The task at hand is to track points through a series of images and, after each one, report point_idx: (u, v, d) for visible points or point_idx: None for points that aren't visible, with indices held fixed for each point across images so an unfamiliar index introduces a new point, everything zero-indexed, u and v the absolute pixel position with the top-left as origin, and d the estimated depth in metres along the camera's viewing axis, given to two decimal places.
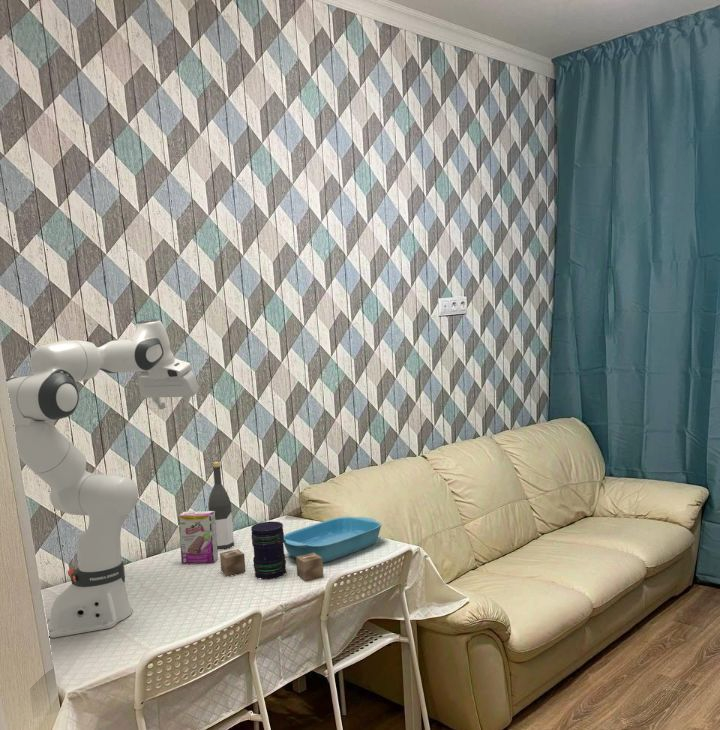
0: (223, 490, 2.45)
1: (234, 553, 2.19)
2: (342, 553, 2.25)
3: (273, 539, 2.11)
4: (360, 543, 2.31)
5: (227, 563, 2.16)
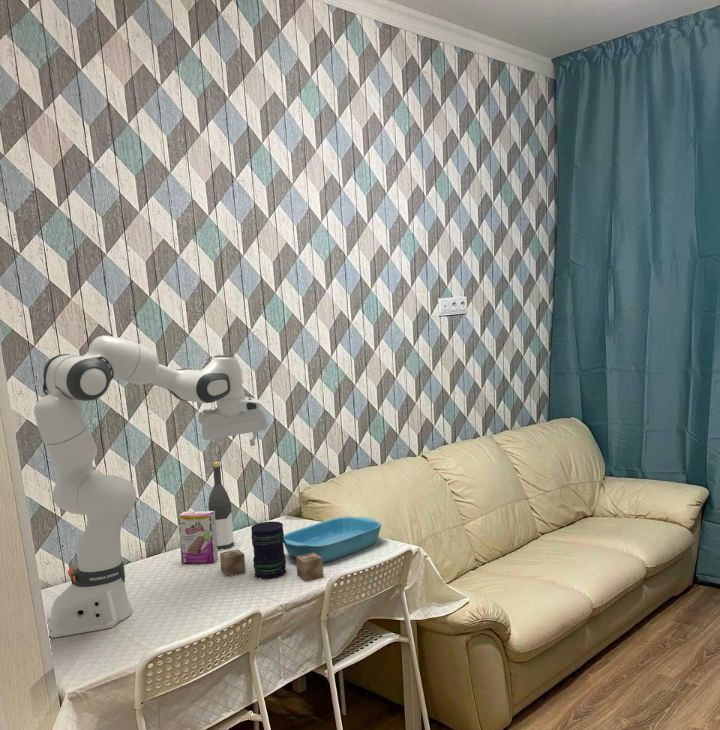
0: (223, 490, 2.45)
1: (234, 553, 2.19)
2: (342, 554, 2.25)
3: (273, 539, 2.11)
4: (360, 543, 2.31)
5: (227, 563, 2.16)
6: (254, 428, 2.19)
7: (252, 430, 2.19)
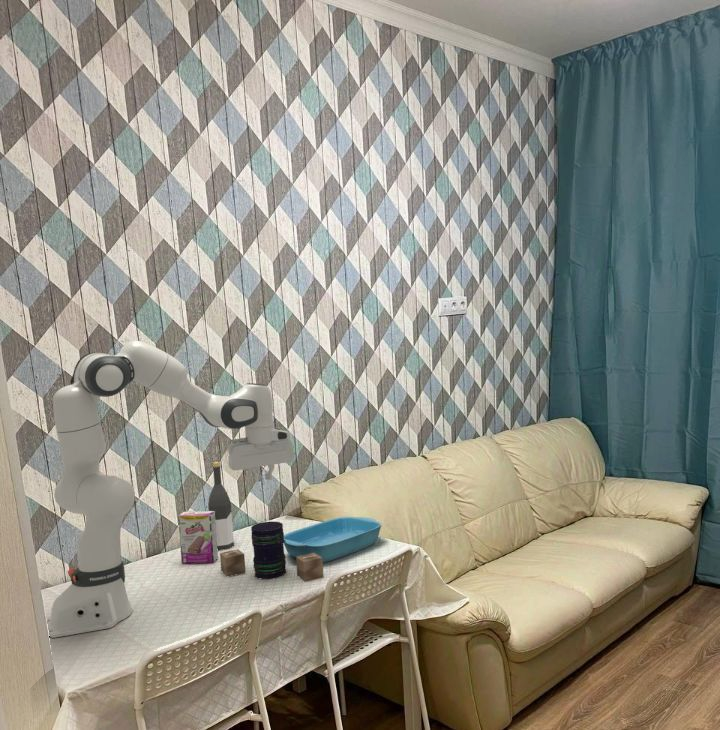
0: (223, 490, 2.45)
1: (234, 553, 2.19)
2: (342, 554, 2.25)
3: (273, 539, 2.11)
4: (360, 543, 2.31)
5: (227, 563, 2.16)
6: (282, 459, 2.15)
7: (280, 461, 2.15)
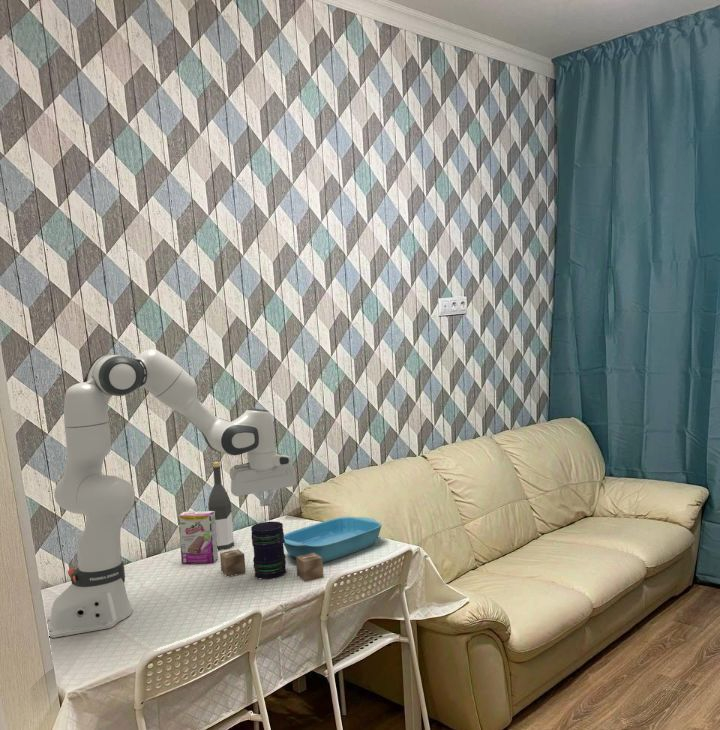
0: (223, 490, 2.45)
1: (234, 553, 2.19)
2: (341, 554, 2.25)
3: (273, 539, 2.11)
4: (359, 543, 2.30)
5: (227, 563, 2.16)
6: (284, 484, 2.16)
7: (282, 486, 2.15)
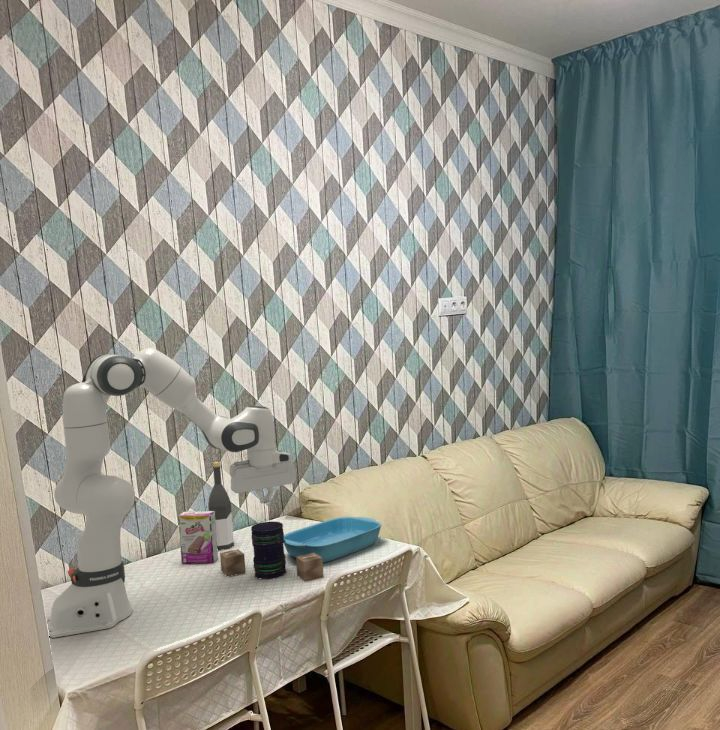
0: (223, 490, 2.45)
1: (234, 553, 2.19)
2: (342, 554, 2.25)
3: (273, 539, 2.11)
4: (360, 543, 2.31)
5: (227, 563, 2.16)
6: (284, 481, 2.16)
7: (282, 483, 2.15)
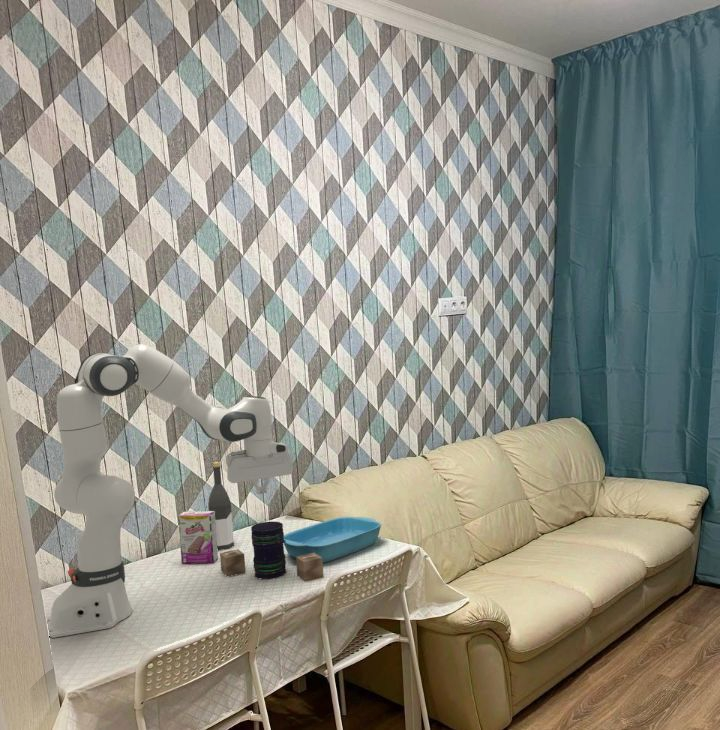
0: (223, 490, 2.45)
1: (234, 553, 2.19)
2: (342, 554, 2.25)
3: (273, 539, 2.11)
4: (360, 543, 2.31)
5: (227, 563, 2.16)
6: (280, 472, 2.15)
7: (278, 474, 2.15)
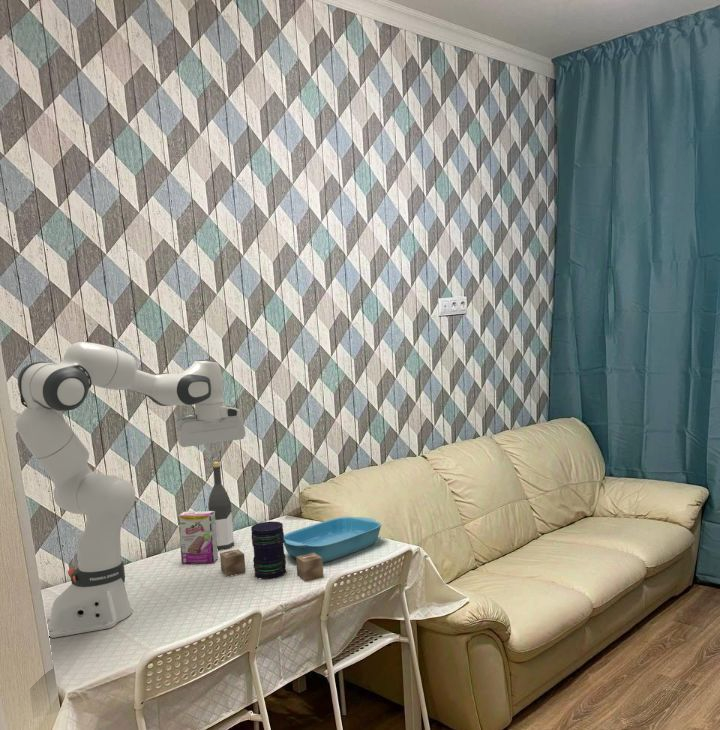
0: (223, 490, 2.45)
1: (234, 553, 2.19)
2: (342, 554, 2.25)
3: (273, 539, 2.11)
4: (360, 543, 2.31)
5: (227, 563, 2.16)
6: (232, 436, 2.15)
7: (230, 438, 2.15)
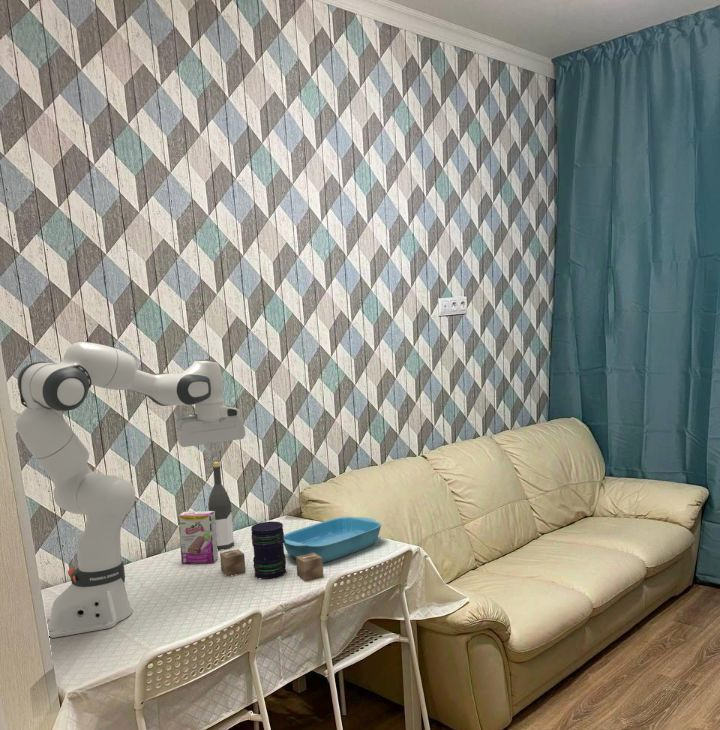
0: (223, 490, 2.45)
1: (234, 553, 2.19)
2: (341, 554, 2.25)
3: (273, 539, 2.11)
4: (360, 543, 2.31)
5: (227, 563, 2.16)
6: (232, 436, 2.15)
7: (230, 438, 2.15)
